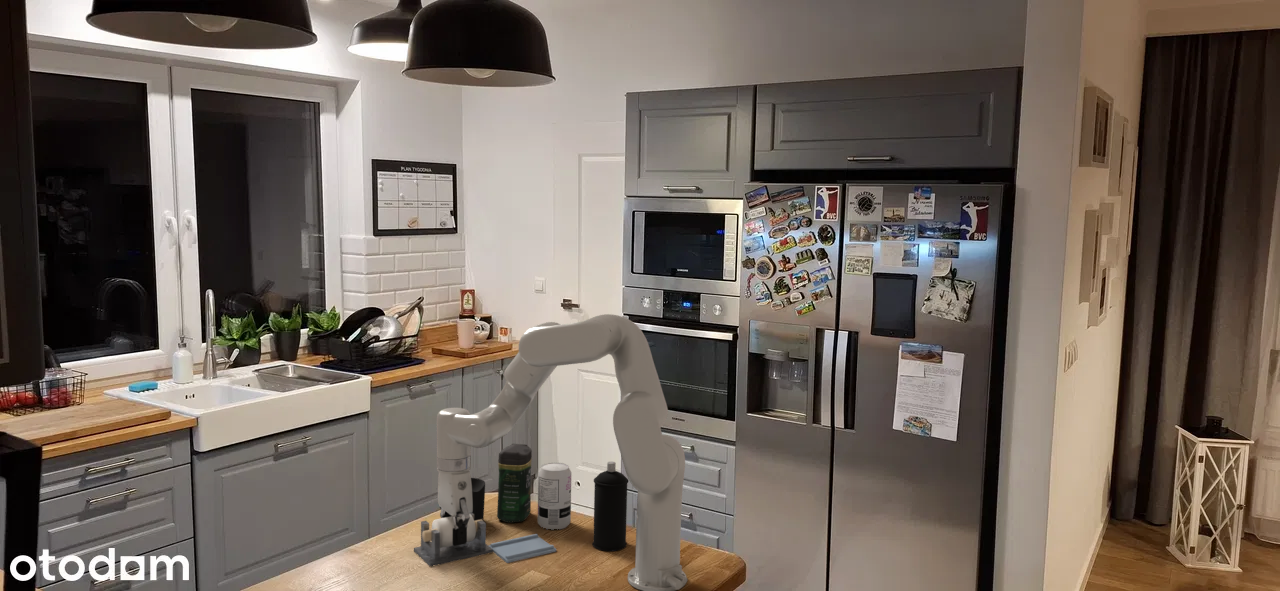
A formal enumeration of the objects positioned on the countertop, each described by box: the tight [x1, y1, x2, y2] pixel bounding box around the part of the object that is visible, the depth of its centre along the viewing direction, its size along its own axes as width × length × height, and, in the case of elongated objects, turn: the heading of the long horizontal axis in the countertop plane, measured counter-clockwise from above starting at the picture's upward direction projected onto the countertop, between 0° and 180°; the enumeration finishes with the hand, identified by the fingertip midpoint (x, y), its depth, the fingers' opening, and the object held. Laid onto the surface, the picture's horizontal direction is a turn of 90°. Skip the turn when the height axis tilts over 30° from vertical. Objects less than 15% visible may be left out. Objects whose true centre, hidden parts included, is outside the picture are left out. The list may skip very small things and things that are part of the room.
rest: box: [487, 533, 557, 564], centre depth 200 cm, size 13×10×1 cm
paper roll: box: [422, 514, 484, 548], centre depth 197 cm, size 14×6×6 cm, turn 125°
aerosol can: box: [592, 461, 629, 552], centre depth 203 cm, size 8×8×20 cm
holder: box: [413, 513, 494, 567], centre depth 197 cm, size 15×10×7 cm, turn 125°
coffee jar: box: [496, 443, 533, 523], centre depth 220 cm, size 10×8×19 cm
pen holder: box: [456, 477, 486, 521], centre depth 216 cm, size 9×9×10 cm
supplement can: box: [537, 462, 572, 531], centre depth 215 cm, size 8×8×15 cm
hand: (453, 538), depth 197 cm, fingers closed on paper roll, 6 cm apart
